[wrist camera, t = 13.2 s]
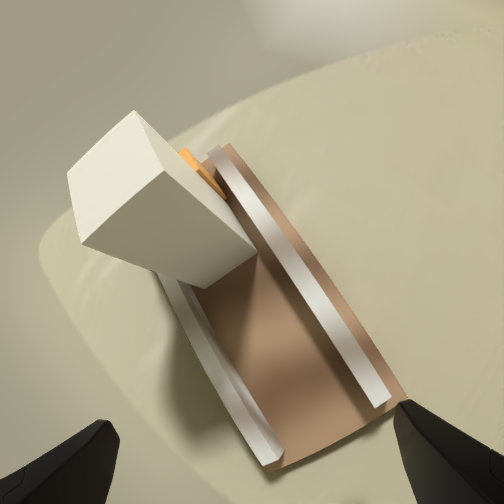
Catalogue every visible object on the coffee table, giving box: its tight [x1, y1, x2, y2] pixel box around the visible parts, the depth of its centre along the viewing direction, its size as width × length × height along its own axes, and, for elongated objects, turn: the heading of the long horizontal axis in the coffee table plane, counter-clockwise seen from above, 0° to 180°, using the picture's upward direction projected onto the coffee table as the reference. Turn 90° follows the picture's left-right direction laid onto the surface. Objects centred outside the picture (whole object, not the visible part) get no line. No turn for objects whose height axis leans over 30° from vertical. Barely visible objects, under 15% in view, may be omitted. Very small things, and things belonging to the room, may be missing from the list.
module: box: [67, 110, 258, 289], centre depth 15 cm, size 4×4×10 cm
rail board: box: [157, 143, 408, 473], centre depth 18 cm, size 20×9×3 cm, turn 31°
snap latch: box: [178, 147, 227, 200], centre depth 18 cm, size 2×4×4 cm, turn 121°
